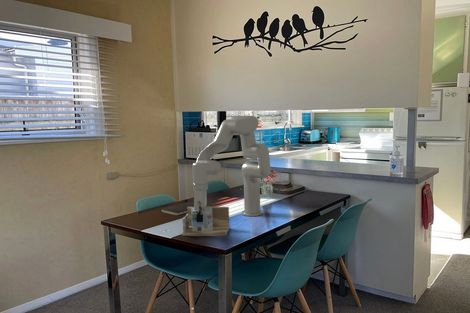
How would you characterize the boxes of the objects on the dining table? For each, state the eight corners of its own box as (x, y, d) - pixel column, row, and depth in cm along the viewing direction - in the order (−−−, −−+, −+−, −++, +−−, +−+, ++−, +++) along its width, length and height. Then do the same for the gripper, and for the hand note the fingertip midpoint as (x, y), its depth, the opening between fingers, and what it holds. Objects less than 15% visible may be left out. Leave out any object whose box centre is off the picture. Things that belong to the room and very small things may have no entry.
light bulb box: (192, 232, 208) (191, 211, 206) (191, 228, 214) (190, 208, 213) (213, 230, 209) (212, 209, 208) (212, 226, 216) (211, 206, 215)
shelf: (188, 227, 221) (187, 206, 219) (229, 228, 218) (228, 206, 217) (182, 235, 207) (181, 213, 205) (225, 236, 204) (224, 213, 203)
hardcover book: (205, 209, 264) (205, 205, 264) (177, 216, 248) (176, 212, 247) (188, 205, 275) (188, 202, 275) (160, 212, 259) (160, 208, 258)
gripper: (196, 183, 218) (197, 215, 220) (189, 189, 201) (190, 224, 203) (210, 183, 217) (211, 215, 219) (204, 189, 200) (205, 224, 202)
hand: (201, 219), depth 211 cm, fingers open, 9 cm apart
